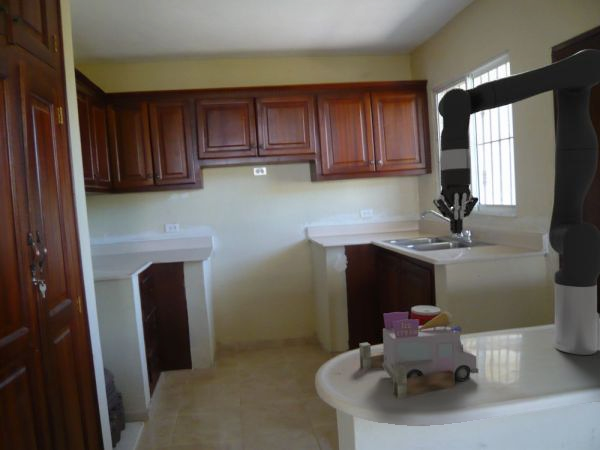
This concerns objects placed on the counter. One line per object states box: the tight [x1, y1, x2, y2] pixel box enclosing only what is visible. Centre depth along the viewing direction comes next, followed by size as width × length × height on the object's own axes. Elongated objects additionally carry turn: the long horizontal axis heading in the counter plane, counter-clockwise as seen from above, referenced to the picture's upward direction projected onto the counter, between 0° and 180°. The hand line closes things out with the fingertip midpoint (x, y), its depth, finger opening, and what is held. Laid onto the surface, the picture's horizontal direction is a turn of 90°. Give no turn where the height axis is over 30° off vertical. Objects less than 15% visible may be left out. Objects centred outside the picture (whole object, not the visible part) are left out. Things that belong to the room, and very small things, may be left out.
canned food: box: [410, 304, 442, 326], centre depth 118 cm, size 8×8×11 cm
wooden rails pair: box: [359, 341, 456, 399], centre depth 101 cm, size 14×18×6 cm
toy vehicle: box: [381, 311, 479, 382], centre depth 99 cm, size 9×20×15 cm, turn 97°
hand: (456, 233), depth 116 cm, fingers closed
